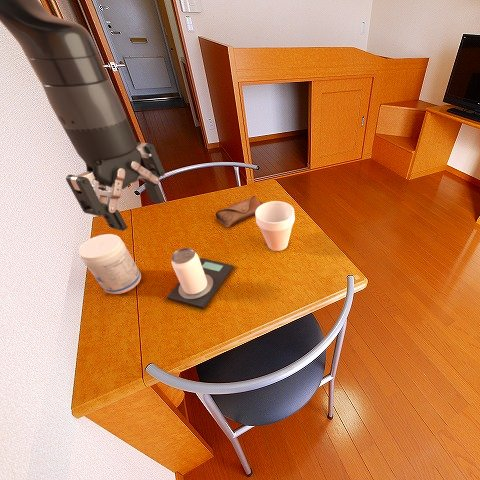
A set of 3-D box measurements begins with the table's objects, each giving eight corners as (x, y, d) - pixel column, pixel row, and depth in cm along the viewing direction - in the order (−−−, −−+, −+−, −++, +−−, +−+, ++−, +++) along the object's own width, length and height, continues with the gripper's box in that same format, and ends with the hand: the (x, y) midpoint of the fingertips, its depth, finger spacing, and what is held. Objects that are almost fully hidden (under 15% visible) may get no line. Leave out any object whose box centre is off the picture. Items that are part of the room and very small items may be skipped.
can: (182, 281, 79) (168, 250, 71) (206, 274, 81) (195, 244, 73) (184, 298, 74) (169, 267, 66) (209, 290, 76) (198, 260, 69)
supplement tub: (97, 286, 78) (68, 248, 69) (129, 266, 85) (107, 228, 75) (117, 301, 75) (89, 263, 65) (149, 279, 81) (128, 241, 71)
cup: (301, 238, 97) (301, 206, 88) (285, 260, 88) (282, 227, 80) (271, 229, 100) (267, 197, 92) (252, 250, 92) (246, 217, 83)
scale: (203, 309, 74) (201, 305, 73) (168, 299, 76) (166, 296, 75) (233, 267, 85) (232, 264, 84) (201, 260, 87) (200, 256, 86)
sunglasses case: (228, 228, 100) (220, 211, 98) (221, 228, 105) (213, 212, 103) (268, 208, 110) (261, 193, 108) (259, 210, 115) (253, 195, 113)
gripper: (66, 139, 32) (126, 244, 42) (154, 107, 42) (184, 197, 53) (17, 131, 33) (87, 235, 44) (114, 102, 44) (151, 191, 54)
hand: (140, 214), depth 48 cm, fingers open, 8 cm apart
